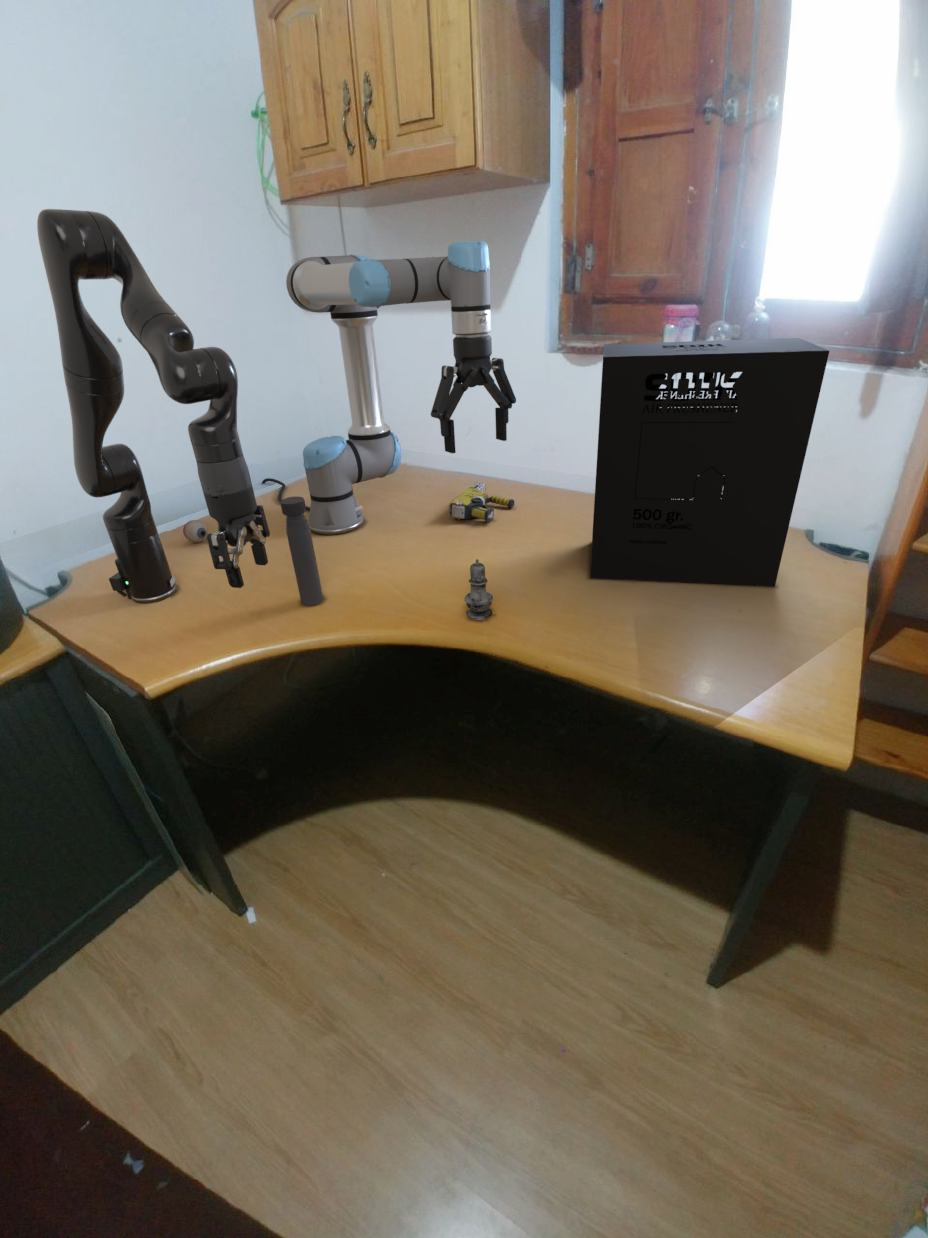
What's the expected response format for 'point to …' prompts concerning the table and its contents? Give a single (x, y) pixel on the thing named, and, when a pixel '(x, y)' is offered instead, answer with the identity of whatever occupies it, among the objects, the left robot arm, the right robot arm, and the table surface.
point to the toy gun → (476, 504)
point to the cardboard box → (701, 458)
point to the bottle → (304, 560)
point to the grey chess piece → (478, 594)
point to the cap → (293, 506)
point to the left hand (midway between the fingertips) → (250, 575)
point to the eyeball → (195, 531)
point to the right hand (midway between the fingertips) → (476, 445)
